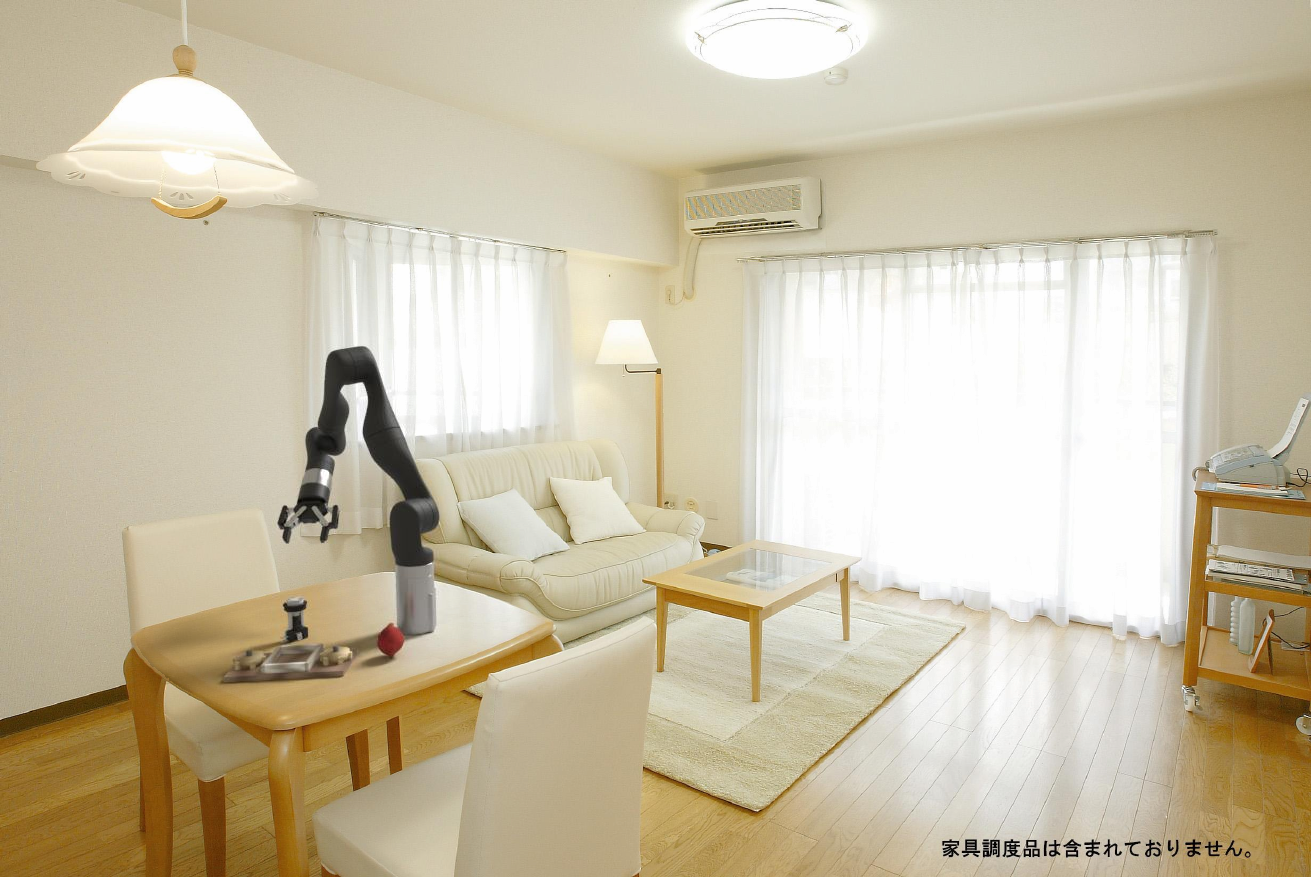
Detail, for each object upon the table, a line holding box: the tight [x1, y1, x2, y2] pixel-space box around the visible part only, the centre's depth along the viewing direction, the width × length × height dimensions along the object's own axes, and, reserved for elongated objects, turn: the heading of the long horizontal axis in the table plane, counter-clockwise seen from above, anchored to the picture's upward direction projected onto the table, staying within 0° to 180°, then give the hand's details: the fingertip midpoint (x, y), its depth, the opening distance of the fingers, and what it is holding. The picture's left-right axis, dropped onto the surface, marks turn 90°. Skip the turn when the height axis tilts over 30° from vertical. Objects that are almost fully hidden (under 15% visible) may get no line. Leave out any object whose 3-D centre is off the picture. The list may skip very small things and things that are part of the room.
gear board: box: [222, 643, 358, 684], centre depth 169 cm, size 25×13×4 cm, turn 99°
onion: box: [376, 621, 405, 658], centre depth 175 cm, size 6×6×8 cm
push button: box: [280, 596, 309, 644], centre depth 185 cm, size 7×5×10 cm
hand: (304, 541), depth 195 cm, fingers open, 8 cm apart
